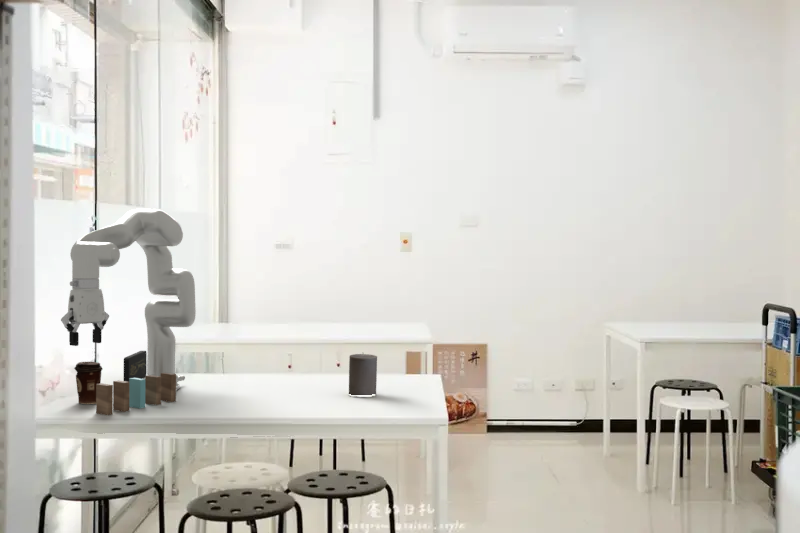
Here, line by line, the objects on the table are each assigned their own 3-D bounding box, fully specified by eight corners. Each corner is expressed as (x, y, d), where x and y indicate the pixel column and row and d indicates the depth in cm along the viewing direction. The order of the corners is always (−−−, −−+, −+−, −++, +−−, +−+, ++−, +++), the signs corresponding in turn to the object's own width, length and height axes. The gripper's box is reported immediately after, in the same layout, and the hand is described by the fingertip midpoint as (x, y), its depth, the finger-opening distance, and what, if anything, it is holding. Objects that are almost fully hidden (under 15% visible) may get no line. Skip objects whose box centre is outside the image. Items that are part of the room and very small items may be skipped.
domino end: (165, 399, 295) (165, 372, 295) (175, 401, 293) (176, 373, 292) (160, 400, 294) (160, 373, 293) (171, 402, 291) (171, 374, 291)
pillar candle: (343, 396, 306) (344, 352, 306) (357, 391, 315) (358, 349, 314) (367, 399, 302) (368, 355, 301) (381, 394, 310) (382, 351, 310)
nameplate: (141, 376, 342) (141, 350, 342) (146, 376, 342) (146, 350, 342) (123, 385, 321) (123, 358, 321) (128, 385, 321) (128, 358, 321)
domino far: (101, 412, 273) (101, 383, 273) (112, 414, 271) (112, 384, 270) (96, 413, 272) (96, 384, 271) (107, 415, 269) (107, 385, 269)
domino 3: (150, 402, 290) (150, 375, 290) (161, 404, 287) (161, 376, 287) (145, 403, 288) (145, 375, 288) (156, 405, 286) (156, 377, 285)
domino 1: (118, 409, 279) (118, 380, 279) (129, 410, 276) (129, 381, 276) (113, 410, 277) (113, 381, 277) (124, 411, 275) (124, 382, 274)
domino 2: (134, 405, 284) (134, 377, 284) (145, 407, 282) (145, 379, 281) (129, 406, 283) (129, 378, 282) (140, 408, 280) (140, 380, 280)
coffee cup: (71, 405, 283) (71, 364, 283) (76, 400, 291) (76, 361, 291) (100, 404, 285) (100, 364, 284) (104, 400, 293) (104, 360, 292)
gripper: (69, 286, 254) (69, 348, 255) (117, 284, 269) (117, 342, 270) (52, 285, 258) (52, 346, 259) (101, 283, 273) (100, 340, 274)
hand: (85, 343), depth 264 cm, fingers open, 7 cm apart
